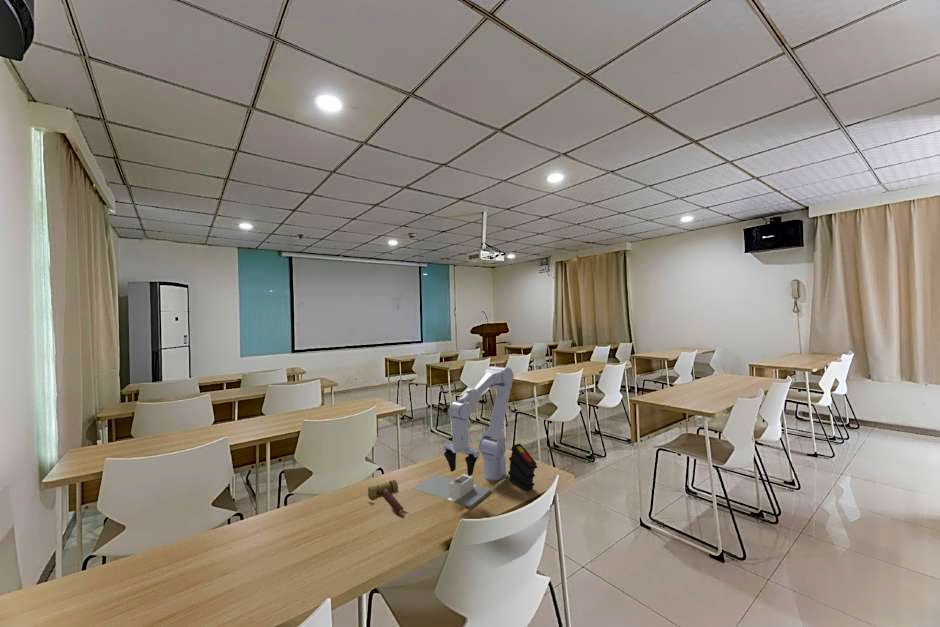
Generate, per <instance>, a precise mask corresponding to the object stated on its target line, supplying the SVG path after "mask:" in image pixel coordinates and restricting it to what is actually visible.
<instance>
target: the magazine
mask: <svg viewBox="0 0 940 627" xmlns="http://www.w3.org/2000/svg"><path fill="white" fill-rule="evenodd" d="M511 450H512V451H511V455H510V457H508V458H509V459H508V460H509V471H508V472H507V474H508V476H509V481H510V482H511V483H512V484H514V485H516V486H518V487H519V488H521V489H523V490H524V491H526V492H529V491H531V490H533V489H534V486H535V483H534V477H536V475H535V473H534V472H535V470H536V469H537V468H538V466H537V462H536V461H535V460H534V458H533V457H532V456H531V454H530V453H529V452H528V451H527V450H526V448H524V445H522V444H521V443H519V442H518V443H515V444H514V445H513V446H511Z"/></svg>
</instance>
